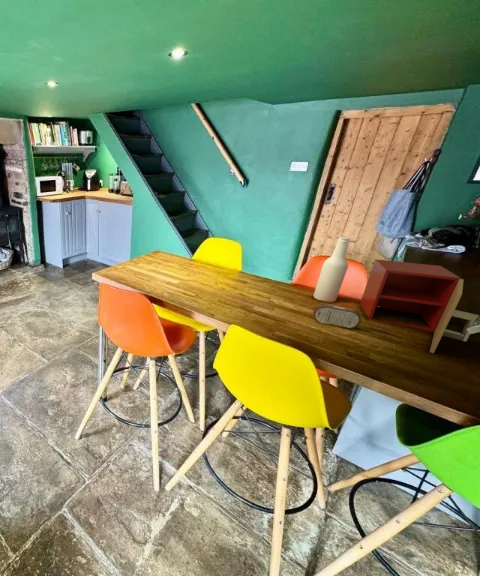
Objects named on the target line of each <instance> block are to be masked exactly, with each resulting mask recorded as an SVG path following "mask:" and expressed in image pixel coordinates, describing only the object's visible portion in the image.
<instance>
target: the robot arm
mask: <svg viewBox="0 0 480 576" xmlns="http://www.w3.org/2000/svg"><path fill="white" fill-rule="evenodd" d="M465 325H466V323H465V324H464V326H465ZM466 329H467V331H468V332H469V333H470V335H472V334H477V333H480V317H479V318H478V320H477V322H476V324H475V326H470V327H467V328H466Z"/></svg>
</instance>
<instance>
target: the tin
mask: <svg viewBox="0 0 480 576" xmlns="http://www.w3.org/2000/svg"><path fill="white" fill-rule="evenodd" d="M312 316H313V318H314V321H316V322H317V323H321V324H326V325H328V324H329V325H333V326H339V327H342V328H343V327H344V328H347V329H355V328H357V327H358V326H359V325H360V324H361V322H362V317H361V314H360V312H359V311H358V310H356V309H355V308H352V307H346V306H342V305H338V304H337V305H336V304H332V303H328V302H327V303H320V304H317V305H316V306H314V308H313V310H312Z"/></svg>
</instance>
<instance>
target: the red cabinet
mask: <svg viewBox="0 0 480 576" xmlns="http://www.w3.org/2000/svg"><path fill="white" fill-rule="evenodd" d="M367 279H368V280H367V282H366V285H365V287H364V291H363V294H362V297H361V299H360V302H359V305H360V306H362V308H363V310H364V312H365V314H366V316H367V320H369V321H375V322H379V323H385V324H390V325H394V326H395V325H396V326H400V327H406V328H412V329H416V330H420V331H421V330H422V331H425V332H426V331H427V332H432V333H434V332H435V330H436V328H437V326H438V324H439V322H440V319H441V317H442V315H443V313H444V311H445V309H446V307H447V304H448V302H449V300H450V298H451V296H452V294H453V291H454V289H455V287H456V285H457V283H458V281H459V279H461V277H460V276H458V275H456V273H455V274H454V273H453V272H452V271H450V270H449V269H447V268H445V267H443V266H442V265H436V264H435V265H434V264H424V263H415V262H405V261H397V260H396V261H394V260H386V259H385V260H384V259H374V262H373V264H372V267H371V270H370V274H369V277H368V278H367ZM377 306H380V307H377ZM376 308H378V309H385V310H390V311H395V312H401V313H408V314H411V315H412V314H413V315H419V316H420V317H421V318H422V319H423V321H424V322H425V323H426V324H427V325H428V326H418V325H417V326H416V325H409V324H404V323H399V322H394V321H388V320H383V319H377V318H376V319H375V318H373V316H374V313H375V311H376Z"/></svg>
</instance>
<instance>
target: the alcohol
mask: <svg viewBox="0 0 480 576" xmlns="http://www.w3.org/2000/svg"><path fill="white" fill-rule="evenodd" d="M350 241H351V237H349V236H339V237H338V240H337V243H336V245H335V247H334V250H333V252H332V255H331V256H329V257H328V258H327V259H325V261H324V262H323V264H322V268H321V271H320V274H319V277H318V280H317V283H316V286H315V290H314V293H313V298H314V299H316V300H318V301H323V302H327V303H328V302H329V303H333V302H336V301H337V299H338V296H339V293H340V291H341V289H342V288H341V287H342V285H343V282H344V279H345V276H346V273H347V271H348V268H349V263H348V260H347V258H346V256H347V252H348V248H349V244H350Z"/></svg>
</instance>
